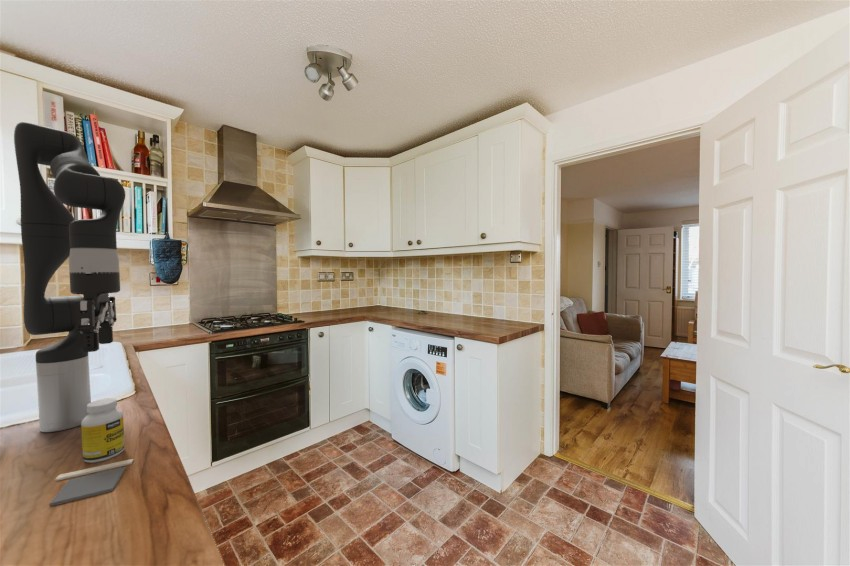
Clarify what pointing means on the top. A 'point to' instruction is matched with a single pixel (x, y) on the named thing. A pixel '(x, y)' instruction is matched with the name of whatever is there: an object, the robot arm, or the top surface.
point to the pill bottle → (102, 431)
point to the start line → (94, 469)
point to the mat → (88, 486)
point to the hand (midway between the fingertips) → (99, 347)
